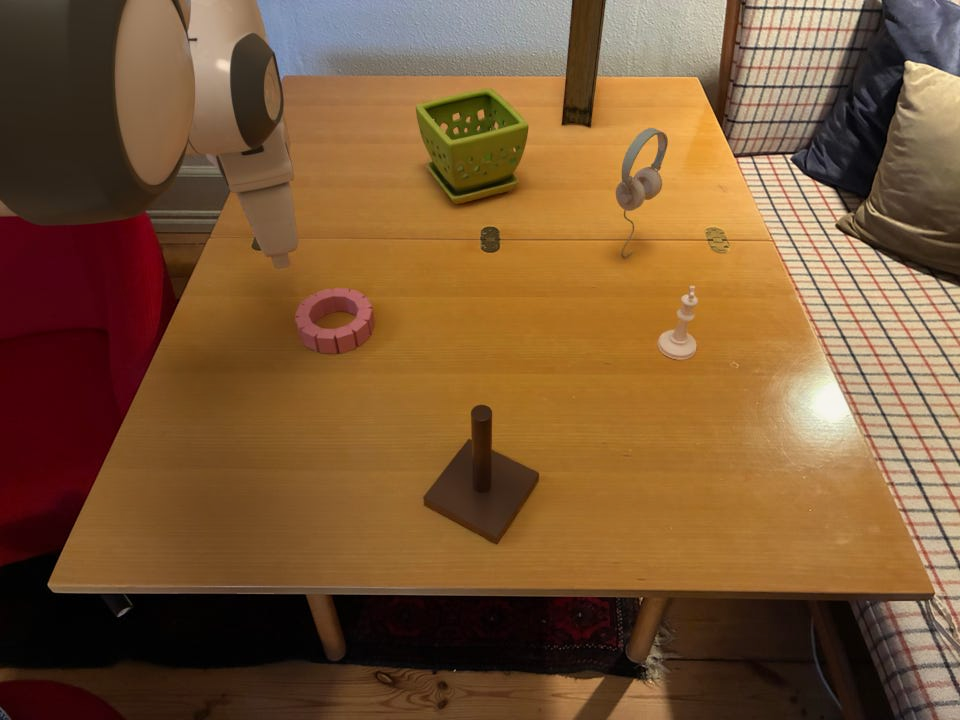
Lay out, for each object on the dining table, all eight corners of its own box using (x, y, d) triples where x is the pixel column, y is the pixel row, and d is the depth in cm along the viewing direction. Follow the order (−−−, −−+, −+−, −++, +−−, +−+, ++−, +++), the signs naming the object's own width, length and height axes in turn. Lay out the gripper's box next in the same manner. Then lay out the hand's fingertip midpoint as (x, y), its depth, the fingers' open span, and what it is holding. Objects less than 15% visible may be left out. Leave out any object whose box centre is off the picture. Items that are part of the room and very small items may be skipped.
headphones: (619, 275, 100) (642, 148, 85) (597, 263, 102) (616, 137, 87) (654, 250, 104) (681, 126, 89) (632, 239, 106) (656, 115, 91)
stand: (496, 544, 70) (498, 467, 61) (423, 504, 74) (414, 425, 64) (538, 480, 76) (546, 400, 66) (468, 446, 79) (466, 364, 69)
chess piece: (695, 335, 91) (713, 276, 84) (696, 362, 88) (715, 302, 81) (657, 331, 92) (671, 271, 84) (657, 357, 88) (672, 298, 81)
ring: (365, 355, 89) (363, 340, 87) (291, 351, 89) (286, 335, 87) (380, 305, 96) (377, 289, 94) (310, 301, 96) (306, 285, 94)
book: (567, 88, 141) (579, -49, 123) (594, 90, 140) (610, -48, 122) (561, 127, 130) (573, -17, 112) (590, 129, 129) (607, -16, 111)
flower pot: (418, 173, 119) (412, 102, 110) (491, 155, 123) (491, 85, 114) (450, 216, 110) (447, 142, 101) (528, 195, 114) (532, 122, 105)
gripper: (200, 98, 78) (232, 203, 88) (229, 188, 65) (263, 300, 75) (256, 88, 80) (281, 192, 90) (296, 174, 67) (320, 285, 77)
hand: (273, 242), depth 82 cm, fingers open, 8 cm apart
